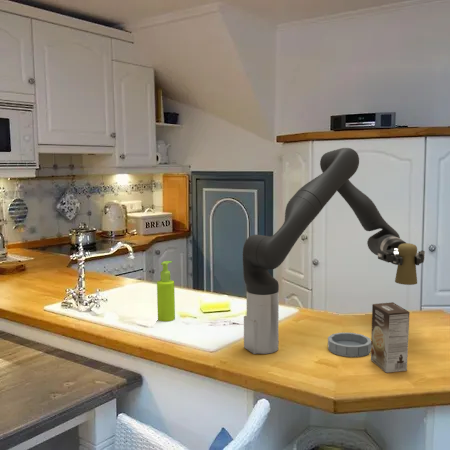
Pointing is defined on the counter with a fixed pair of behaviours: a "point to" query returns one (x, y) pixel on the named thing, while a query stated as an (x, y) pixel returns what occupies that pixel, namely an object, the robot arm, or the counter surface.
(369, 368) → the counter surface
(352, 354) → the slate dish
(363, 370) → the counter surface
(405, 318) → the coffee box
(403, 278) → the cork
